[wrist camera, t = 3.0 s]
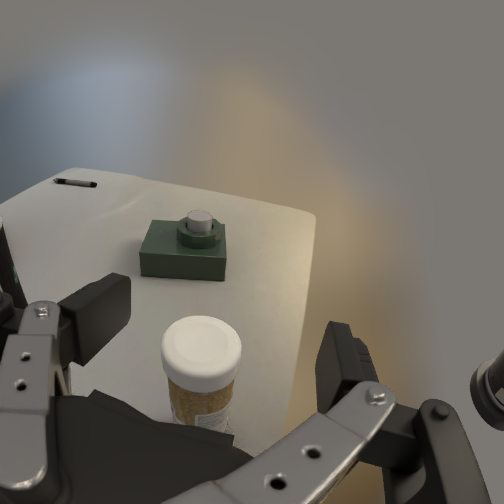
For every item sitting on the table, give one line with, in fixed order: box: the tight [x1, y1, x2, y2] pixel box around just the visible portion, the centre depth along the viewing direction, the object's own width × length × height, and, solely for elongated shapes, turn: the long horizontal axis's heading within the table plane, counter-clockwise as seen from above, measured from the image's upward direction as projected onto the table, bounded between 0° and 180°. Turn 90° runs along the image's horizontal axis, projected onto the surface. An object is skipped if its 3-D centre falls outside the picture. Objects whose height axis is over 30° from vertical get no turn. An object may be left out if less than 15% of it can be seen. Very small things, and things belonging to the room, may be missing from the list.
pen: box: [53, 178, 97, 187], centre depth 67 cm, size 1×16×1 cm, turn 82°
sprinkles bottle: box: [161, 316, 242, 433], centre depth 19 cm, size 5×5×14 cm
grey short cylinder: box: [187, 210, 213, 233], centre depth 43 cm, size 4×4×2 cm
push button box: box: [139, 217, 227, 281], centre depth 44 cm, size 12×10×6 cm
